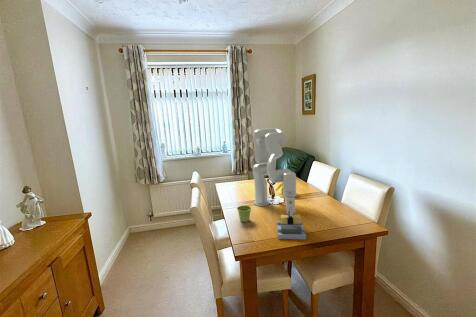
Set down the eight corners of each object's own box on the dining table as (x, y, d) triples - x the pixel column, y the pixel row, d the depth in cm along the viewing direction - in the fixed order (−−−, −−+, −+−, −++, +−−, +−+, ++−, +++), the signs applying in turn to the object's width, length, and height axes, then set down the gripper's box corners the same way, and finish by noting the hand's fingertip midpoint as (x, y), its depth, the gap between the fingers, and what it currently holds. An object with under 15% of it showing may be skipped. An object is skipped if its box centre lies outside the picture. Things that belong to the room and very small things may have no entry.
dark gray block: (300, 232, 131) (300, 226, 130) (301, 235, 127) (301, 229, 127) (281, 232, 132) (280, 226, 132) (281, 235, 129) (281, 229, 128)
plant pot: (243, 216, 159) (242, 204, 157) (254, 219, 153) (254, 207, 152) (234, 221, 152) (234, 208, 150) (246, 224, 146) (245, 212, 144)
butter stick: (299, 221, 139) (299, 214, 138) (300, 223, 135) (300, 217, 135) (280, 221, 140) (280, 215, 140) (281, 223, 137) (281, 217, 136)
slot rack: (277, 225, 143) (277, 221, 143) (302, 225, 141) (302, 221, 141) (278, 238, 128) (278, 234, 127) (306, 239, 126) (306, 235, 125)
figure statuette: (295, 192, 200) (295, 167, 196) (297, 195, 193) (296, 170, 189) (274, 193, 201) (274, 168, 197) (275, 196, 194) (275, 170, 190)
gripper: (297, 197, 126) (298, 229, 129) (294, 188, 142) (295, 216, 146) (283, 197, 127) (284, 228, 130) (282, 188, 143) (282, 216, 147)
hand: (290, 222), depth 138 cm, fingers closed on butter stick, 3 cm apart
